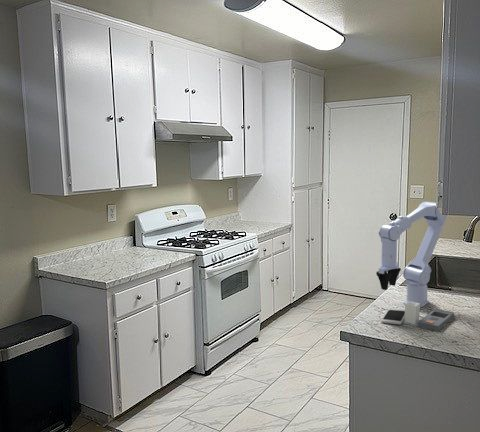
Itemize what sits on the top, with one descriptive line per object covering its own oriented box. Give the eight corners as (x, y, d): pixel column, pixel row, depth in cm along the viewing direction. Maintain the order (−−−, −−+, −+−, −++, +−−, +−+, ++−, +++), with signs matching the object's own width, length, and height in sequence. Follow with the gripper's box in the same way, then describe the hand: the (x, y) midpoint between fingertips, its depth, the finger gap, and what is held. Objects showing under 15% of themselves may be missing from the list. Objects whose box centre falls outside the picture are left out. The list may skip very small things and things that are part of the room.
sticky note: (406, 318, 173) (406, 317, 173) (423, 321, 169) (423, 321, 169) (400, 322, 169) (400, 322, 169) (417, 326, 164) (417, 326, 164)
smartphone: (407, 311, 179) (407, 309, 179) (400, 324, 165) (400, 322, 165) (389, 310, 182) (389, 307, 182) (381, 322, 169) (380, 320, 169)
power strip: (435, 313, 178) (435, 307, 177) (453, 317, 173) (454, 311, 173) (418, 326, 164) (418, 320, 164) (437, 331, 160) (438, 325, 159)
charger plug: (408, 318, 172) (409, 300, 171) (419, 321, 169) (419, 302, 168) (404, 321, 169) (405, 303, 168) (415, 324, 166) (415, 305, 165)
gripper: (391, 259, 172) (390, 293, 174) (405, 252, 183) (405, 284, 185) (373, 256, 177) (373, 290, 179) (389, 250, 188) (388, 282, 189)
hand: (388, 287), depth 182 cm, fingers open, 7 cm apart
